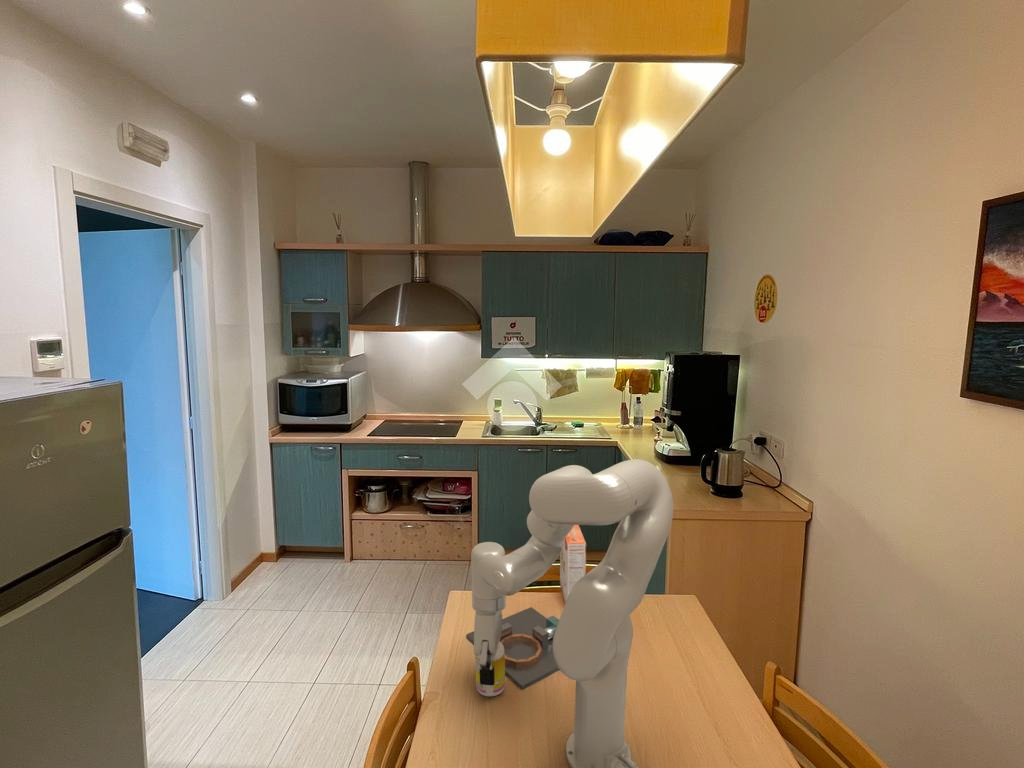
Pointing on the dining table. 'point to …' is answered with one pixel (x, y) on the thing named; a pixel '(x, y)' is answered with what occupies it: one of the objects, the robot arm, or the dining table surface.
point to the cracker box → (572, 560)
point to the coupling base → (527, 646)
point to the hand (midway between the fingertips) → (490, 672)
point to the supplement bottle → (498, 673)
